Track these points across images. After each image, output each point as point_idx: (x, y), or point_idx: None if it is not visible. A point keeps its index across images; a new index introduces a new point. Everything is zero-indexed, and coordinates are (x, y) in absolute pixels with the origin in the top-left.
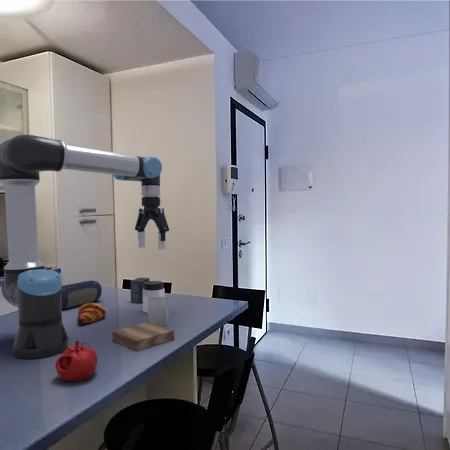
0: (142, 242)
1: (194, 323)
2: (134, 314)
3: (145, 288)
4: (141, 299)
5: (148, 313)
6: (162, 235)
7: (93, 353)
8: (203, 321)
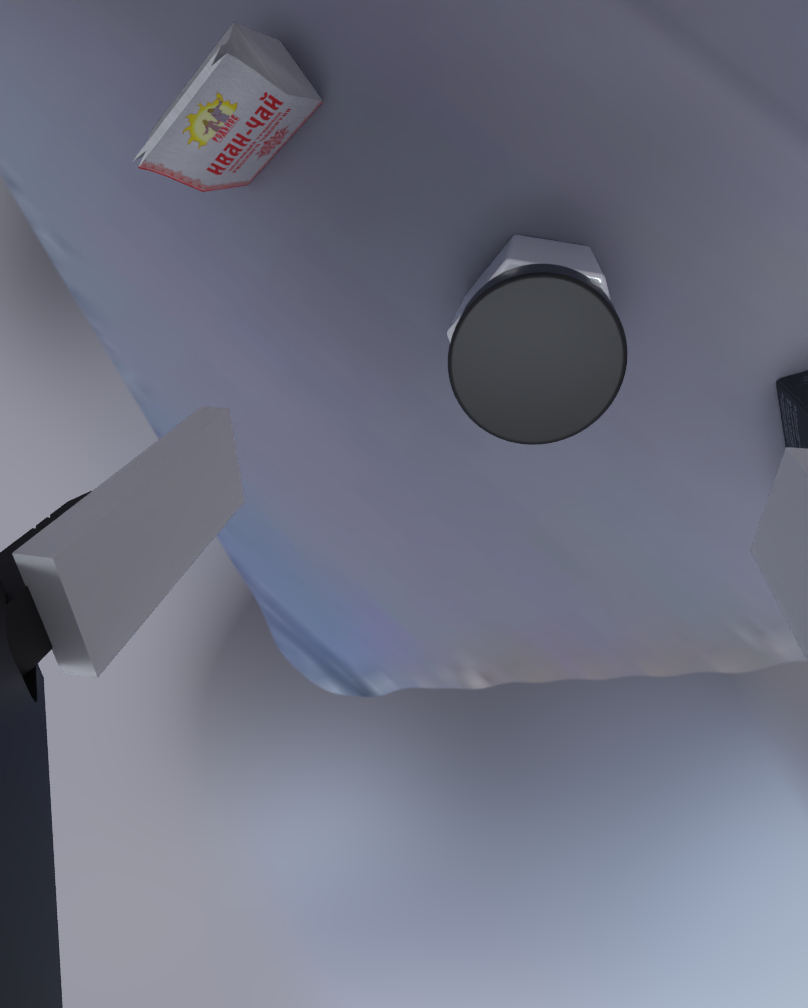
0: (798, 555)
1: (153, 279)
2: (579, 148)
3: (545, 265)
4: (786, 395)
5: (246, 29)
6: (11, 548)
7: None
8: (158, 337)
